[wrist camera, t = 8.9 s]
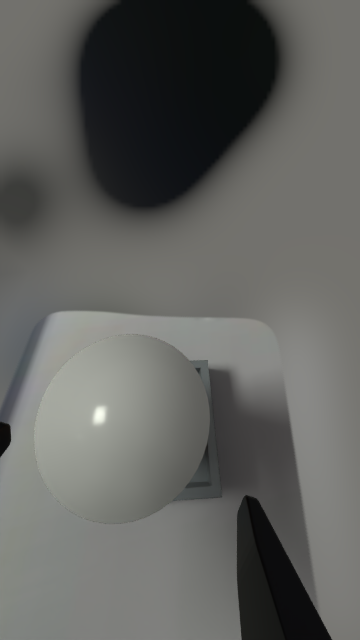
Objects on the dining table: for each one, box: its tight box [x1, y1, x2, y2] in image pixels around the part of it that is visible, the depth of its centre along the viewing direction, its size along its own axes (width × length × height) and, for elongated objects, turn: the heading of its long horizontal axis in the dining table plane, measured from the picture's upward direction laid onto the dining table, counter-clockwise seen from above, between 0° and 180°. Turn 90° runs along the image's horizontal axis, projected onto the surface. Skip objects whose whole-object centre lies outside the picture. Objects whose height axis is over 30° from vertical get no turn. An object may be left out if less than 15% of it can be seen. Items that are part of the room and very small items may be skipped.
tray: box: [172, 360, 222, 501], centre depth 17 cm, size 9×9×2 cm
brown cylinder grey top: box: [34, 334, 210, 524], centre depth 12 cm, size 5×5×12 cm
